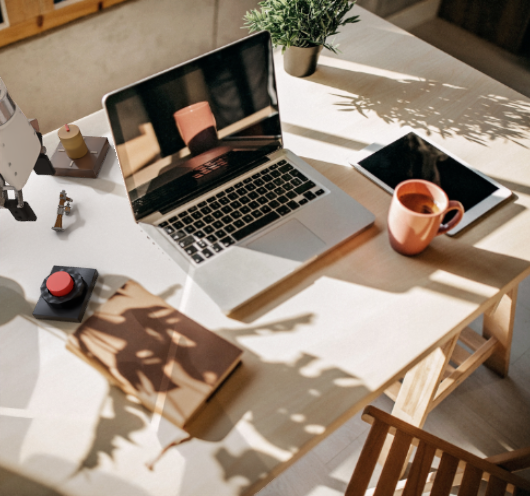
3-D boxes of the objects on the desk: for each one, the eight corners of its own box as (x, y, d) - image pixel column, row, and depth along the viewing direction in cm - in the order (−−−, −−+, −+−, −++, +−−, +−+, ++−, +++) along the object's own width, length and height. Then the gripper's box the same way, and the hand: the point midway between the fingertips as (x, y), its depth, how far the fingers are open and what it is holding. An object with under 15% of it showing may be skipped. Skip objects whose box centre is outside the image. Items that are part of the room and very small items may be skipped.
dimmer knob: (90, 154, 104) (80, 133, 99) (69, 161, 103) (59, 140, 98) (85, 141, 106) (76, 120, 101) (65, 148, 105) (54, 127, 100)
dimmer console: (50, 175, 104) (46, 166, 102) (67, 143, 110) (63, 133, 108) (96, 178, 103) (92, 169, 101) (110, 145, 109) (107, 136, 107)
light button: (46, 295, 83) (42, 290, 82) (55, 275, 85) (51, 270, 84) (69, 297, 83) (65, 292, 81) (77, 277, 85) (73, 272, 84)
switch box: (35, 319, 84) (27, 309, 81) (57, 270, 90) (49, 259, 87) (81, 323, 83) (73, 313, 81) (99, 273, 89) (93, 262, 86)
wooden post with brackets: (76, 195, 99) (66, 188, 95) (70, 234, 98) (59, 229, 93) (68, 195, 99) (57, 188, 95) (61, 234, 98) (50, 228, 93)
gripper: (-20, 68, 69) (31, 157, 83) (-74, 154, 59) (-6, 239, 73) (32, 67, 69) (75, 157, 83) (-14, 154, 59) (44, 240, 73)
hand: (37, 196), depth 78 cm, fingers open, 9 cm apart
